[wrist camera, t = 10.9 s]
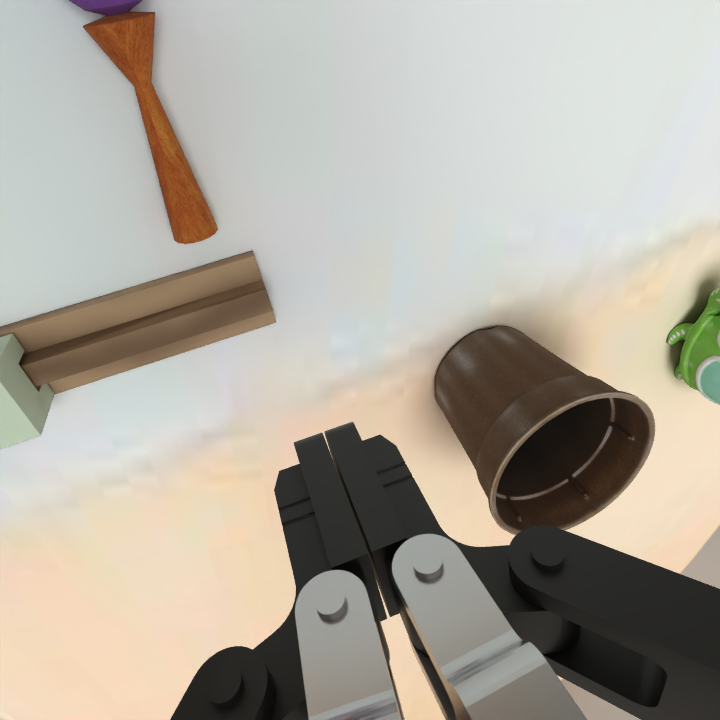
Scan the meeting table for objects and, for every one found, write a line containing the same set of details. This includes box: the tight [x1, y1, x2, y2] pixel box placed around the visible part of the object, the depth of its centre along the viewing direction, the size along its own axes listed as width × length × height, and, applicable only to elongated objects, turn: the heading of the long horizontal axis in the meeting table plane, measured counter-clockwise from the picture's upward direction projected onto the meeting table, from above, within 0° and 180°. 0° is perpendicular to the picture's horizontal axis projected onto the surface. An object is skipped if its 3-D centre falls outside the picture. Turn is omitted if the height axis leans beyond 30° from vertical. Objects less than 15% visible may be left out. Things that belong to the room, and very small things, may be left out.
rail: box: [0, 251, 276, 394], centre depth 41 cm, size 6×26×5 cm, turn 102°
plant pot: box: [435, 326, 655, 535], centre depth 51 cm, size 16×16×16 cm
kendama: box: [70, 0, 218, 244], centre depth 33 cm, size 6×6×20 cm
